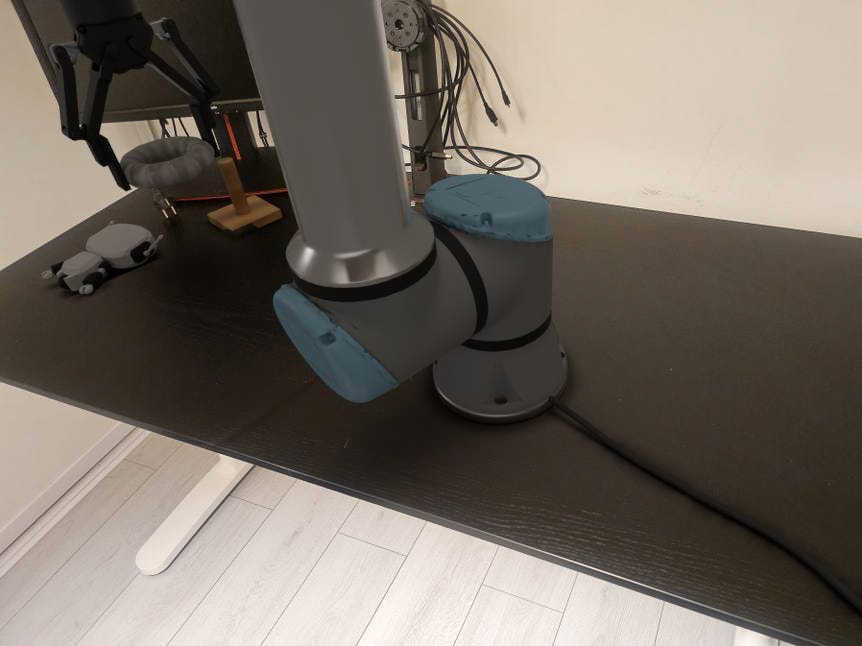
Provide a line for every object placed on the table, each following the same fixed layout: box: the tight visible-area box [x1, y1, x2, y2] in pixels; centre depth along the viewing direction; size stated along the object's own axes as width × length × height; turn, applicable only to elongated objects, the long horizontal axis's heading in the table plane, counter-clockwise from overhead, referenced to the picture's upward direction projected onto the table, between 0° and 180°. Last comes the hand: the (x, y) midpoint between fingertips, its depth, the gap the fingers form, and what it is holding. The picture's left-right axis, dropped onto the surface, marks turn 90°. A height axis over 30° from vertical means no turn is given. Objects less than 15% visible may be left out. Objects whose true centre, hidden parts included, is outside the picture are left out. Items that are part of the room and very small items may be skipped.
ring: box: [119, 135, 215, 190], centre depth 79 cm, size 12×12×3 cm
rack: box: [206, 156, 283, 231], centre depth 101 cm, size 9×9×10 cm
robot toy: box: [41, 220, 164, 295], centre depth 93 cm, size 12×4×15 cm
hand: (171, 170), depth 80 cm, fingers closed on ring, 12 cm apart
